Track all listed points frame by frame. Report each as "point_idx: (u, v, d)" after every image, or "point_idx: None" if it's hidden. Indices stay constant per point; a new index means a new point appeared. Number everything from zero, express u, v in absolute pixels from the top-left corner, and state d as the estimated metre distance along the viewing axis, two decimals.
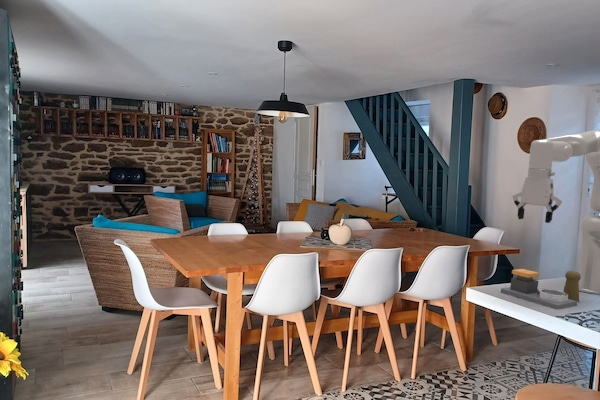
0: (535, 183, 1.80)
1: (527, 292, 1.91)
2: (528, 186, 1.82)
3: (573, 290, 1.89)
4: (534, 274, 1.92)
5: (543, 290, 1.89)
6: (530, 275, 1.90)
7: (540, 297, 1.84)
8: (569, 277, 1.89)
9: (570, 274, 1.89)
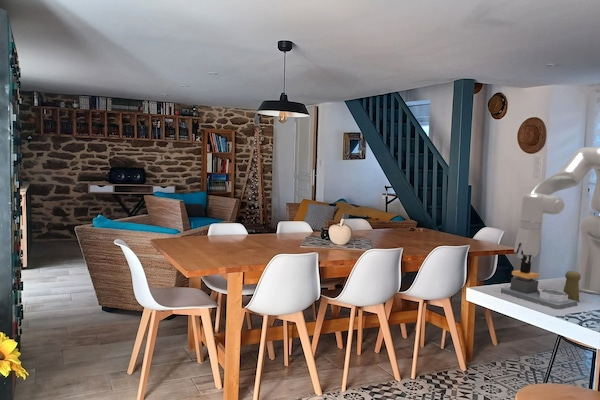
0: (535, 235, 1.91)
1: (527, 292, 1.91)
2: (531, 239, 1.90)
3: (573, 290, 1.89)
4: (534, 275, 1.92)
5: (543, 290, 1.89)
6: (530, 276, 1.90)
7: (540, 297, 1.84)
8: (569, 277, 1.89)
9: (570, 274, 1.89)
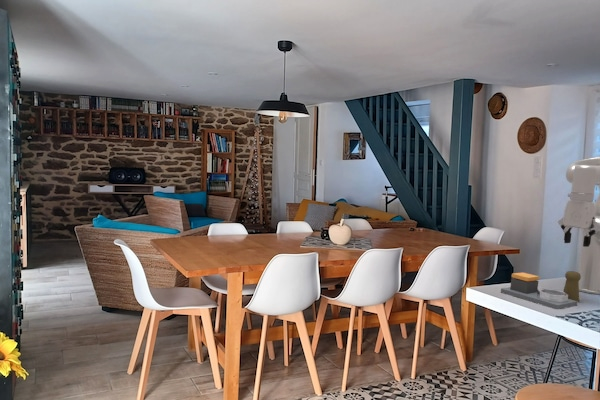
0: None
1: (527, 292, 1.91)
2: None
3: (573, 290, 1.89)
4: (534, 278, 1.92)
5: (543, 290, 1.89)
6: (530, 279, 1.90)
7: (540, 297, 1.84)
8: (569, 277, 1.89)
9: (570, 274, 1.89)
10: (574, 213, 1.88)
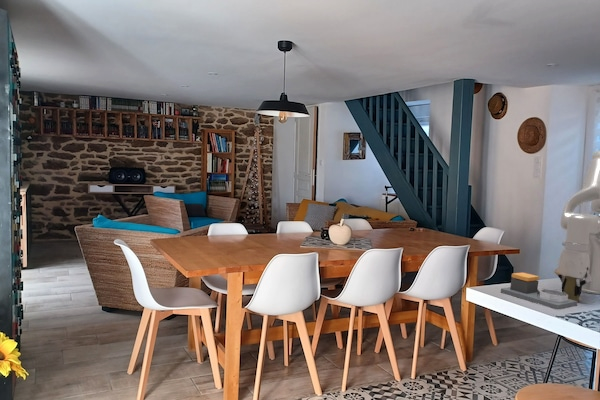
0: None
1: (527, 292, 1.91)
2: None
3: (573, 289, 1.89)
4: (534, 278, 1.92)
5: (543, 290, 1.89)
6: (530, 279, 1.90)
7: (540, 297, 1.84)
8: (569, 277, 1.89)
9: None
10: (569, 263, 1.89)
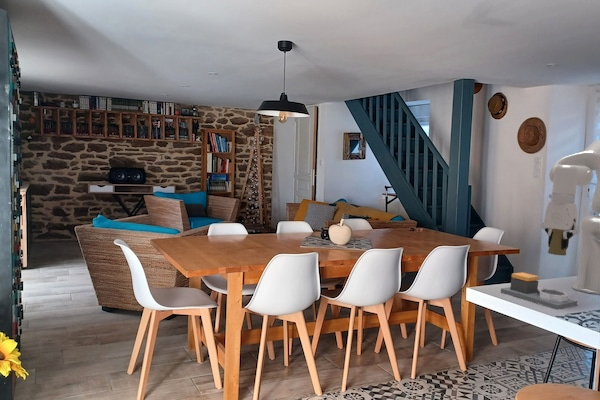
0: None
1: (527, 292, 1.91)
2: None
3: (560, 242, 1.81)
4: (534, 278, 1.92)
5: (543, 290, 1.89)
6: (530, 279, 1.90)
7: (540, 297, 1.84)
8: (556, 229, 1.82)
9: None
10: (555, 215, 1.82)
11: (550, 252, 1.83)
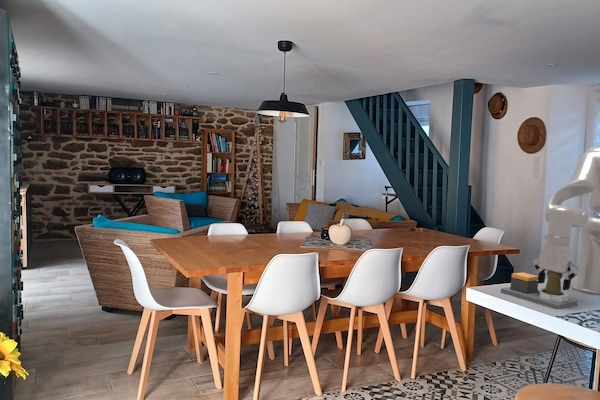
0: None
1: (527, 292, 1.91)
2: None
3: (555, 288, 1.83)
4: (534, 278, 1.92)
5: (543, 290, 1.89)
6: (530, 279, 1.90)
7: (540, 297, 1.84)
8: (551, 275, 1.83)
9: (552, 273, 1.83)
10: (551, 256, 1.83)
11: None
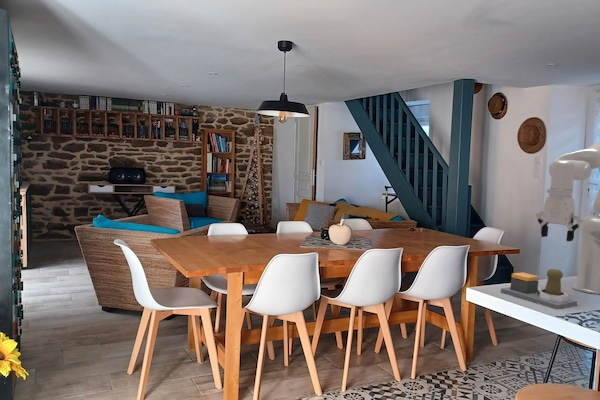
0: None
1: (527, 292, 1.91)
2: None
3: (555, 288, 1.83)
4: (534, 278, 1.92)
5: (543, 290, 1.89)
6: (530, 279, 1.90)
7: (540, 297, 1.84)
8: (551, 275, 1.83)
9: (552, 273, 1.83)
10: (554, 209, 1.86)
11: None
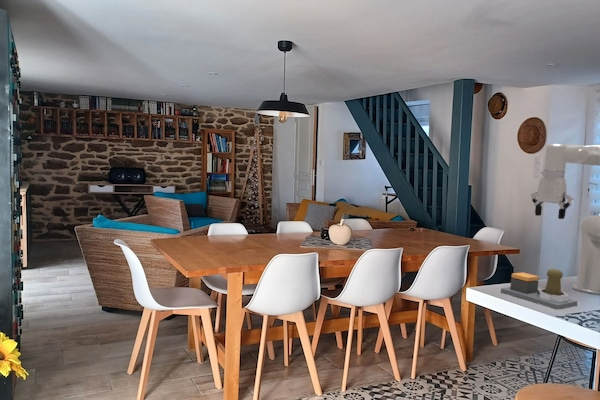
0: None
1: (527, 292, 1.91)
2: None
3: (555, 288, 1.83)
4: (534, 278, 1.92)
5: (543, 290, 1.89)
6: (530, 279, 1.90)
7: (540, 297, 1.84)
8: (551, 275, 1.83)
9: (552, 273, 1.83)
10: (547, 189, 1.99)
11: None
